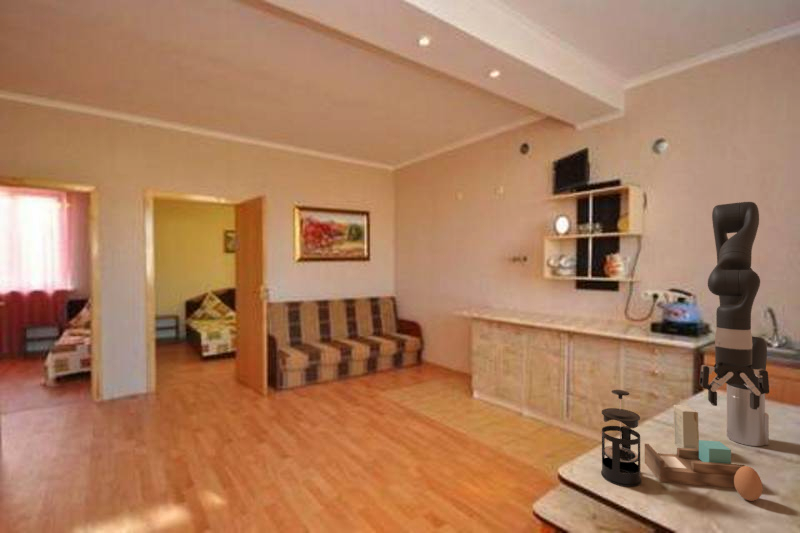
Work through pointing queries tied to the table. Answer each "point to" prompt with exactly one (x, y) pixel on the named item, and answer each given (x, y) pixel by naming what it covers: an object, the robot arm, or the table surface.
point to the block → (714, 452)
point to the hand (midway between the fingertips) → (733, 406)
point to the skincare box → (686, 427)
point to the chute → (689, 468)
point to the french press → (620, 455)
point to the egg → (748, 483)
